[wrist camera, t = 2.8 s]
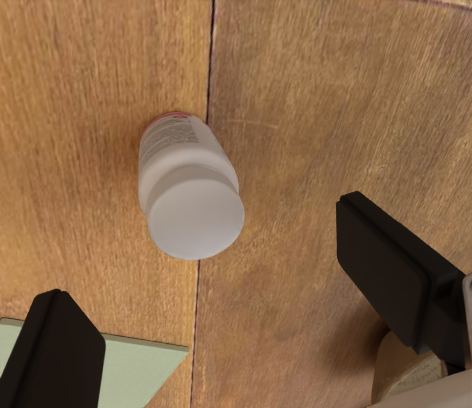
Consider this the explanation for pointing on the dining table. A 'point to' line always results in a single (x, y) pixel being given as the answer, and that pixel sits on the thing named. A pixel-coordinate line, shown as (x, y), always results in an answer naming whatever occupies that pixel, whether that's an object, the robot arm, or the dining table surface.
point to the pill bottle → (187, 188)
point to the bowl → (401, 369)
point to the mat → (117, 366)
